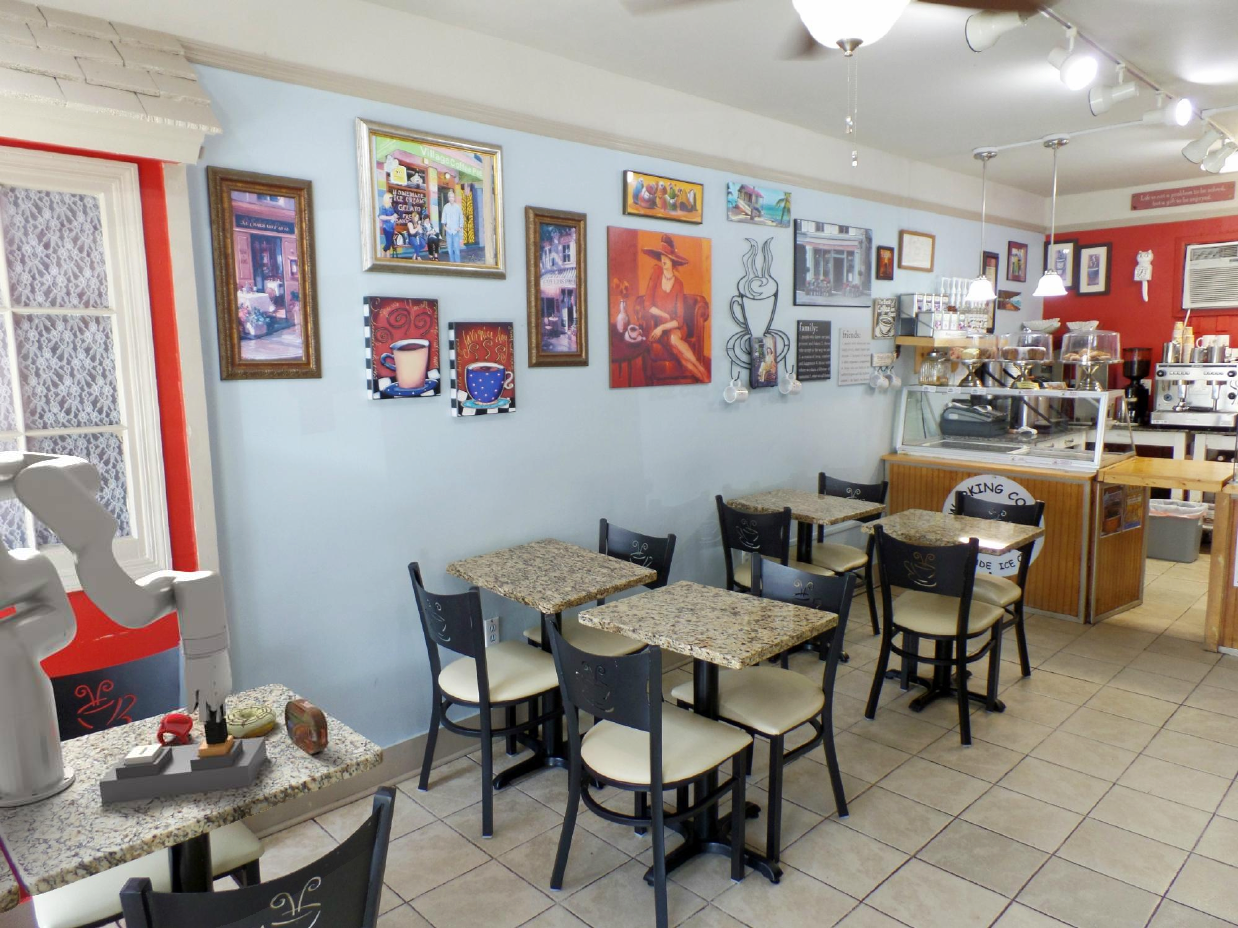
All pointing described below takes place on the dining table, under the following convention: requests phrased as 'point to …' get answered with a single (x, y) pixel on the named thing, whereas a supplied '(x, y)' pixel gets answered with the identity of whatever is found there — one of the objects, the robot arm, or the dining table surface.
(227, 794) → the dining table surface
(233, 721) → the decorated donut
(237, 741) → the grey button panel
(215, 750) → the orange button
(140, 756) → the cream button
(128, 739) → the dining table surface
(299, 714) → the tin
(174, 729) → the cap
